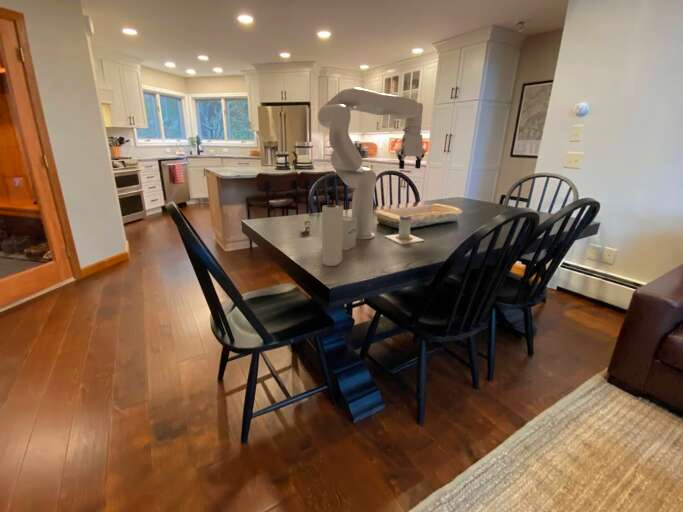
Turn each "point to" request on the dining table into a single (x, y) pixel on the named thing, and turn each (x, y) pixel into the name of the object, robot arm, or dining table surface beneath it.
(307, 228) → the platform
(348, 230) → the white bottle
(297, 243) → the dining table surface
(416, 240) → the card
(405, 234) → the tube
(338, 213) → the paper towel roll
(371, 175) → the robot arm
